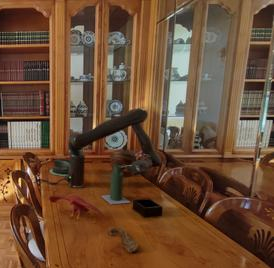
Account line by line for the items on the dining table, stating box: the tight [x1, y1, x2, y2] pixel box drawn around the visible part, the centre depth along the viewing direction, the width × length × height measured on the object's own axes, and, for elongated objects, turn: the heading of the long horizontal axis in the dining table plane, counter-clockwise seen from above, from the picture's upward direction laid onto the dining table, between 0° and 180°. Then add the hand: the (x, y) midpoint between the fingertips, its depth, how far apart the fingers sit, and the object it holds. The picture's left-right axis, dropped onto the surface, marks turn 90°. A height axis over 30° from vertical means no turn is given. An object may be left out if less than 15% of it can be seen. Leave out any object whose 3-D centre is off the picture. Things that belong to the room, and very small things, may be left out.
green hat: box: [48, 158, 69, 177], centre depth 174 cm, size 15×19×20 cm
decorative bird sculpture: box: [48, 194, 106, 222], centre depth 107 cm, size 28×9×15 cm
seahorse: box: [108, 226, 139, 254], centre depth 89 cm, size 6×15×2 cm, turn 10°
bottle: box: [109, 165, 124, 201], centre depth 125 cm, size 6×6×18 cm
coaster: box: [101, 194, 131, 206], centre depth 126 cm, size 11×11×1 cm
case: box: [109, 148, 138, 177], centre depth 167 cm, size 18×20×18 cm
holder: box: [132, 198, 163, 219], centre depth 111 cm, size 9×9×4 cm
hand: (126, 171), depth 130 cm, fingers open, 8 cm apart
